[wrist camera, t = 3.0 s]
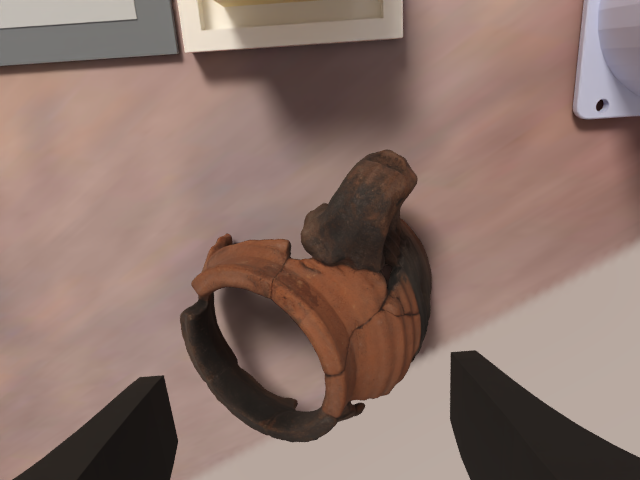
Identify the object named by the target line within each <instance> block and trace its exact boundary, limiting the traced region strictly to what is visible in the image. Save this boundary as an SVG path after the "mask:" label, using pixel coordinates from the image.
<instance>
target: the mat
mask: <svg viewBox="0 0 640 480" xmlns="http://www.w3.org/2000/svg"><path fill="white" fill-rule="evenodd" d="M169 54H179V48H178V42H177V35H176V28H175V21H174V15H173V8H172V1H171V0H0V66H7V65H22V64H37V63H51V62H66V61H81V60H95V59H110V58H125V57H139V56H154V55H169Z"/></svg>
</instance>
